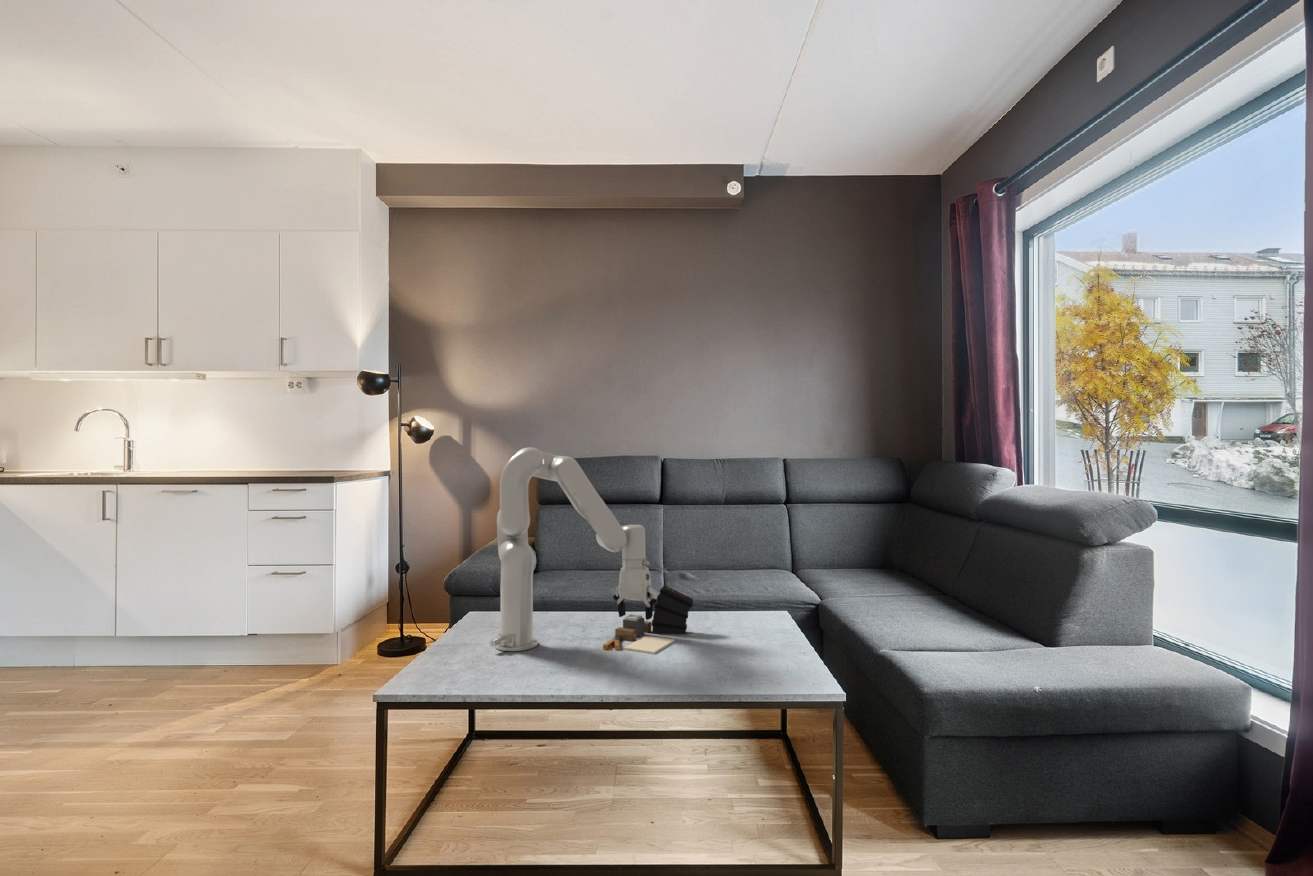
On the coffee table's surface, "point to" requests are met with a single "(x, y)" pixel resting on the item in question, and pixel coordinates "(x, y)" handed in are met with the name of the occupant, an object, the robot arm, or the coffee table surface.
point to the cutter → (612, 643)
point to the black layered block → (671, 612)
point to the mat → (649, 644)
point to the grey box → (634, 624)
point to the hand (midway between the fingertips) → (635, 617)
